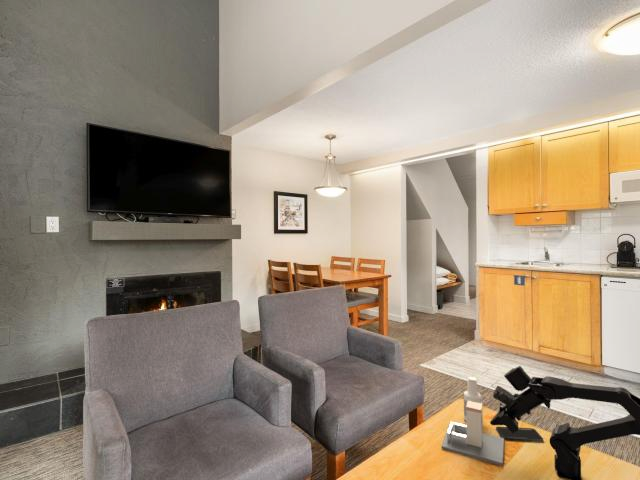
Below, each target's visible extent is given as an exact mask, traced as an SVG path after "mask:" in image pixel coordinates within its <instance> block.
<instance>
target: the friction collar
mask: <svg viewBox="0 0 640 480" xmlns="http://www.w3.org/2000/svg"><path fill="white" fill-rule="evenodd" d="M449 425H450V426H449ZM449 425H448V426H449V429H448V428H447V429H448V432H447V431H446V432H447V442H450V441H451V438H452V443H454V444H457V445H461V446H465V447H466V445H467V424H463V423H460V422H459V423H458V422H454V421H450V424H449ZM454 426H455V432H453V431H454Z"/></svg>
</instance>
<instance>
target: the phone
mask: <svg viewBox="0 0 640 480" xmlns="http://www.w3.org/2000/svg"><path fill="white" fill-rule="evenodd" d="M495 430H496V432H497V433H498V435H499V437H501V438H504V441H514V442H515V441H516V442H531V441H535V442H537V443H543V442H544V437H542V435H540V433H539V432H538V431H537V430H536V429H535V428H531V427H518V432H516V433H515V434H513V433H512V432H511V431H510V430H509V429H508V428H507V427H506V426H496V427H495ZM535 442H534V443H535Z"/></svg>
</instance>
